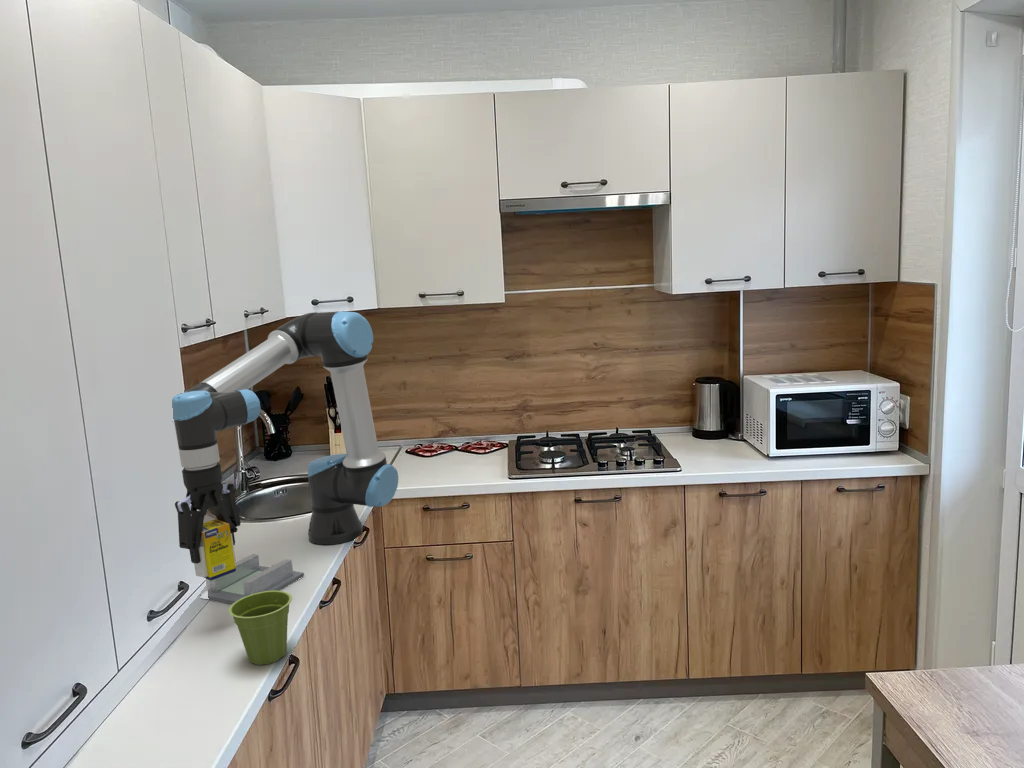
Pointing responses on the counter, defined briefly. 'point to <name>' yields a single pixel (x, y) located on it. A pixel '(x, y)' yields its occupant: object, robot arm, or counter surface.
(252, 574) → the docking plate
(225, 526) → the supplement box
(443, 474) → the counter surface
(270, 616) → the plant pot
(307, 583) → the counter surface
